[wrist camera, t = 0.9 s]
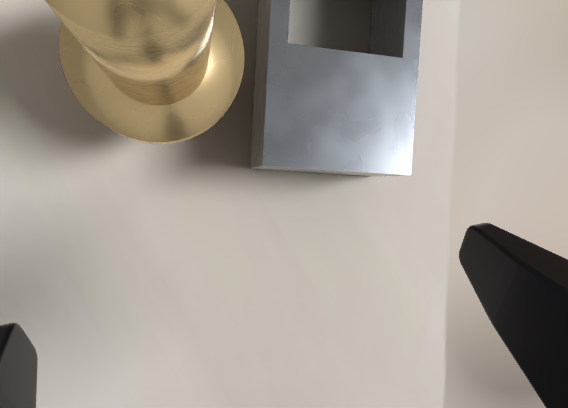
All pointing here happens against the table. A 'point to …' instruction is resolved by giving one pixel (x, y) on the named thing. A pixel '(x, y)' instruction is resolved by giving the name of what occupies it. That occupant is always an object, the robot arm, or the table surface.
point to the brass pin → (151, 64)
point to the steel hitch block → (337, 96)
